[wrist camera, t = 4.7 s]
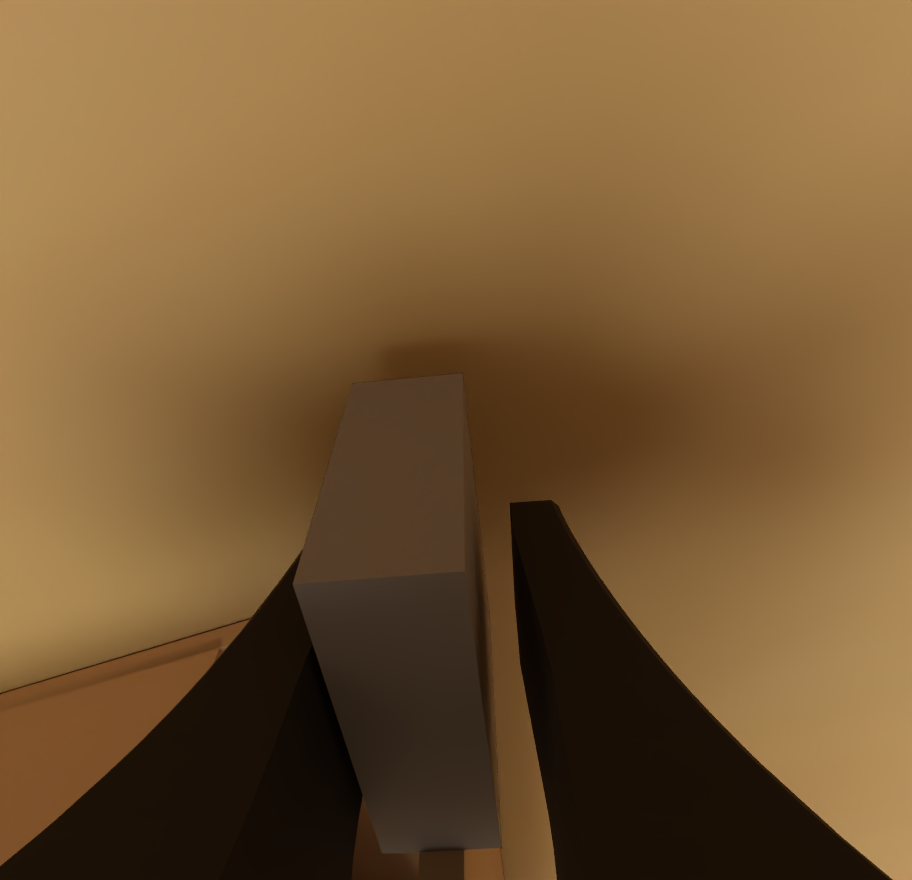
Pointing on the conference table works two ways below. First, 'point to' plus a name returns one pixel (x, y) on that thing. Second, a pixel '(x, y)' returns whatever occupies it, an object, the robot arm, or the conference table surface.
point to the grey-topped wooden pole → (409, 623)
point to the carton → (116, 740)
